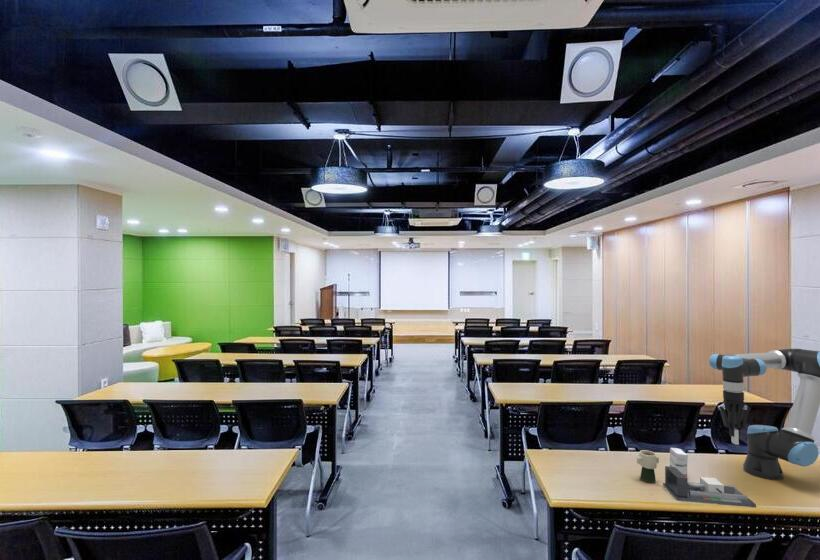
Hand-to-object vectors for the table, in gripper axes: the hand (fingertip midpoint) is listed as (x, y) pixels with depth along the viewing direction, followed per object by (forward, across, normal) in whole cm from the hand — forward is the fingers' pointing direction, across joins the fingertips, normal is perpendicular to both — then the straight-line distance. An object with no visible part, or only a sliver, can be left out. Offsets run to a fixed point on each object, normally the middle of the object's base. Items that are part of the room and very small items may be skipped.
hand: (735, 443), depth 189 cm
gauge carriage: (+19, +17, +8) cm, 27 cm away
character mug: (+20, +35, -5) cm, 41 cm away
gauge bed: (+21, +16, +6) cm, 27 cm away
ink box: (+21, +18, -14) cm, 31 cm away
